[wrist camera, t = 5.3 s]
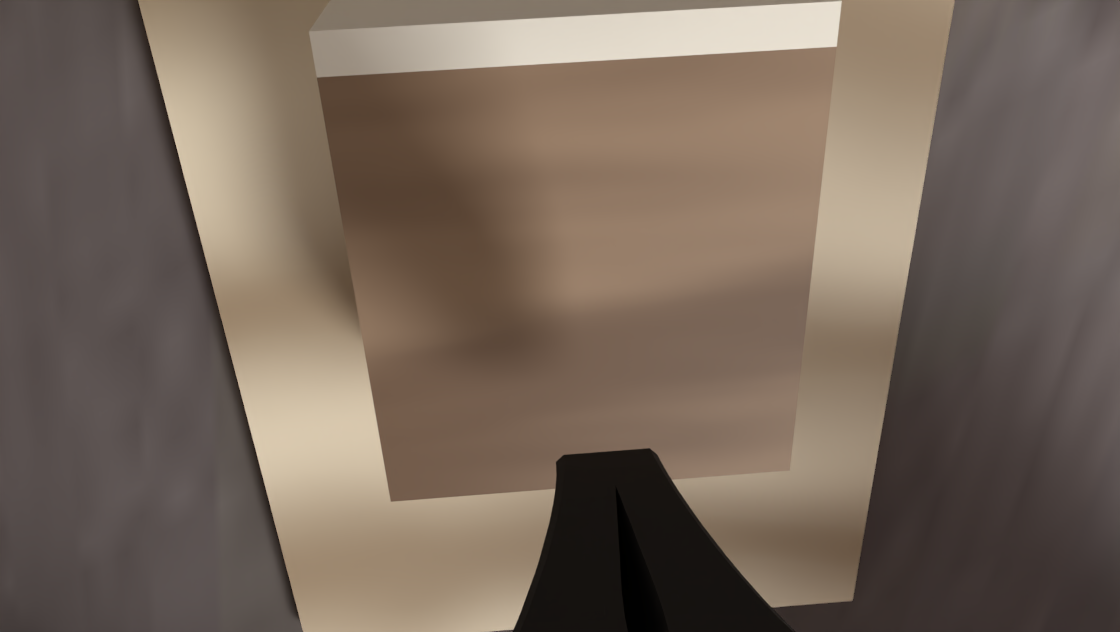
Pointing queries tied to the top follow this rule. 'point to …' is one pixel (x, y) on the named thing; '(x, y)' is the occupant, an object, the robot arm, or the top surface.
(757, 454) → the beige rectangular block
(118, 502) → the top surface
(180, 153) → the board
